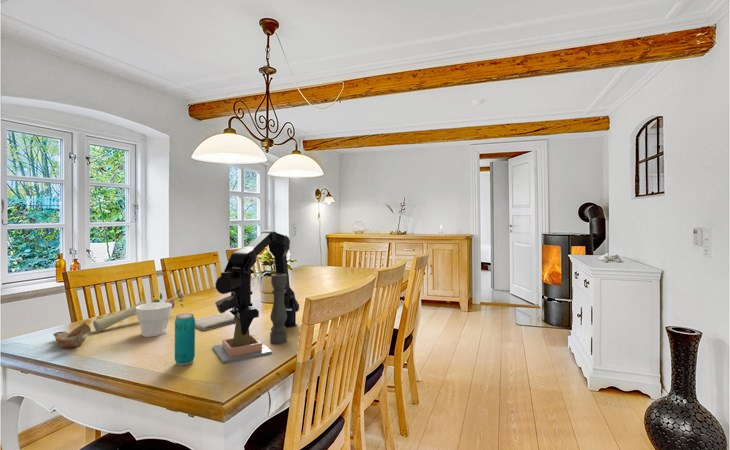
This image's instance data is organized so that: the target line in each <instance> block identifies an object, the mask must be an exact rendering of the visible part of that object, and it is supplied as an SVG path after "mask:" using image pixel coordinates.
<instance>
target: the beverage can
mask: <svg viewBox="0 0 730 450" xmlns="http://www.w3.org/2000/svg"><path fill="white" fill-rule="evenodd" d="M194 316H195V314H194V313H181V314H177V315H176V316H175V319H174V361H175V363H176V365H177V366H189V365H191V364H192V363H193V362H194V359H195V357H196V352H195V351H196V328H195V319H196V318H195V317H194ZM190 363H191V364H190Z"/></svg>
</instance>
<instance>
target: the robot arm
mask: <svg viewBox="0 0 730 450" xmlns="http://www.w3.org/2000/svg"><path fill="white" fill-rule="evenodd" d="M290 245H291V240H290V237H289V236H288V235H287V234H283V233H282V234H281V233H278V232H276V231H274V230H262V231H261V232H260V234H259V235H258V236H257V237H256V238H254V239H253V240H252V241H251V242H250V243H249V244H248V245H246V246H245V247H242V248H239V249H237V250H235V251H233V252H232V253H231V255H230V257H229V259H228V262H227V264H226V266H225V268H224V270H223V271H222V272H221V273H220V276H219V277H218V278H217V279H216V282H215V283H214V284H215V289H216V291H217V292H218V293H219V294H222V295H226V294H228V293H230V295H229V296H226V297H224V298H221V299H219V300H217V301H215V303H214V304H215V307H216V309H217V311H218V313H220V314H223V313H226V312H227V311H229V313H231V314H232V316H235V314H237V316H235V317H236V318H237V319H238V320H240V325H241V331H242V335H246V333H247V331H248V329H249V330H250V326H251V324H252V322H253V320H254V319H255V318H260V311H259V310H258V309H257V308H255V307H254V306H253V302H252V295H253V290H252V274H253V275H254V274H255V271H254V270H253V269H252V268H253V267H254V266H255V264H256V263H257V257H258V255H260V254H261V253H262V252H263V251H264V250H265V249H266V248H267V247H268V250H269V252H270V254H272V256H273V258H274V265H275V274H287V283H286V286H285V288H284V289H285V290H286V293H285V294H284V304H285V309H286V313H287V319H286V321H285V324H284V325H285V327H286V328H290V327H295V326H298V323H297V322H296V321H297V318H296V317H297V315H296V314H297V312H299V310H300V304H299V302H298V301H297V298H296V294H295V291H293V289H292V288H291V285H290V276H289V267H288V257H287V256H288V255H287V254H288V252H289V251H290V247H291V246H290Z"/></svg>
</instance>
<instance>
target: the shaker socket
mask: <svg viewBox="0 0 730 450" xmlns="http://www.w3.org/2000/svg"><path fill="white" fill-rule="evenodd" d="M233 339H234V337H231V338H226V339H225V338H224V339H222V340H221V341H222V343H221V344H217V345H215V344H214V345H212V350H213V352H214V353H215V354H216V355H217V357H218V358H219V360H220V361H221V363H222V364H227V363H232V362H238V361H243V360H249V359H253V358H257V357H263V356H269V355H272V354H273V351H272V350H271V349H270V348H269V347H268V346H267V345H266V344H265V343H264V342H263V341H261V340H260V339H259V338H257V337H256V336H255V335H253V334H250V341H251V344H250V345H244V346H239V347H233Z"/></svg>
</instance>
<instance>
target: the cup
mask: <svg viewBox="0 0 730 450" xmlns="http://www.w3.org/2000/svg"><path fill="white" fill-rule="evenodd" d="M171 308H172V304H171V303H169V302H167V301H165V302H164V301H161V302H154V303H153V302H148V303H146V304H142V305H139V306H137V307H136V313H137V315H136V317H137V320H138V323H139V327H140V331H141V332H140V333H141V336H142V337H145V338H152V337H153V338H154V337H159V336H162V335H165V334H166V333H167V330H168V329H167V328H168V323H169V318H170V316H171V315H172V310H171ZM172 309H173V308H172Z"/></svg>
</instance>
